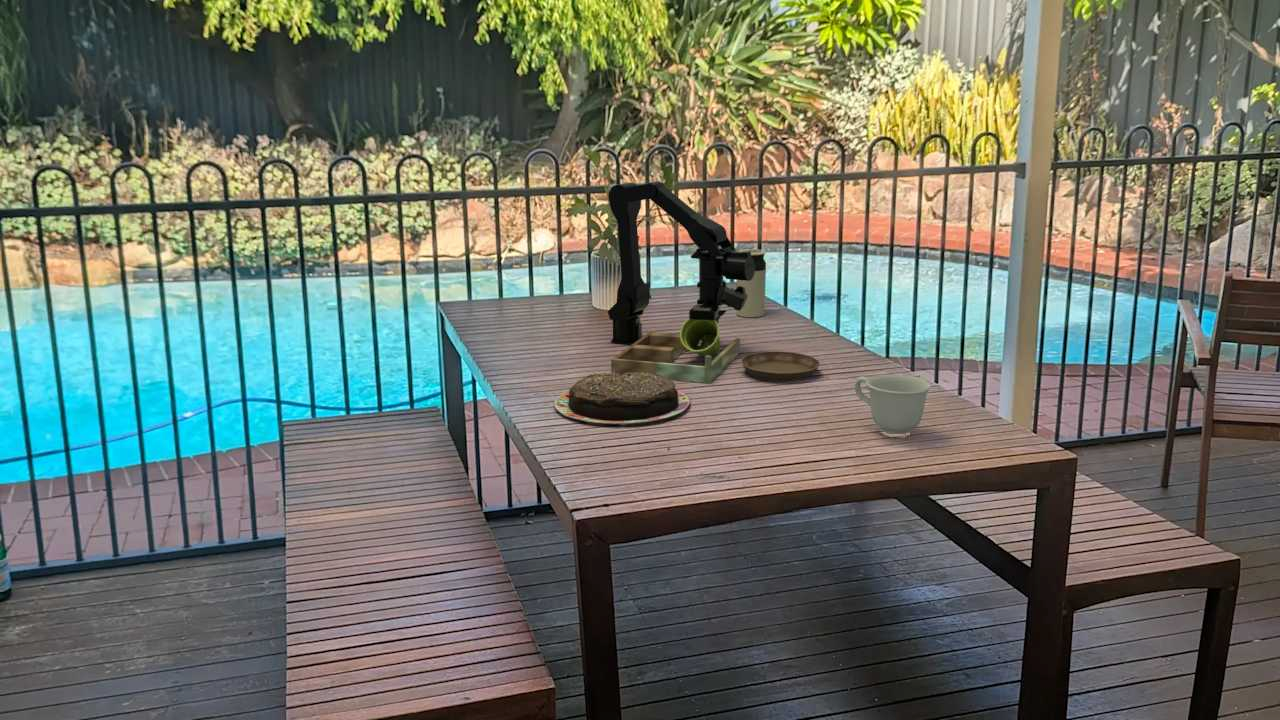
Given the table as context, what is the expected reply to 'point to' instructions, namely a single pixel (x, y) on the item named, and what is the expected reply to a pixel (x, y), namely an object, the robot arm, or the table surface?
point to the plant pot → (701, 336)
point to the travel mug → (754, 287)
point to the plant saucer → (780, 366)
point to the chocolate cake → (622, 399)
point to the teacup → (895, 401)
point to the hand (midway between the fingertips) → (711, 341)
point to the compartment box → (670, 359)
